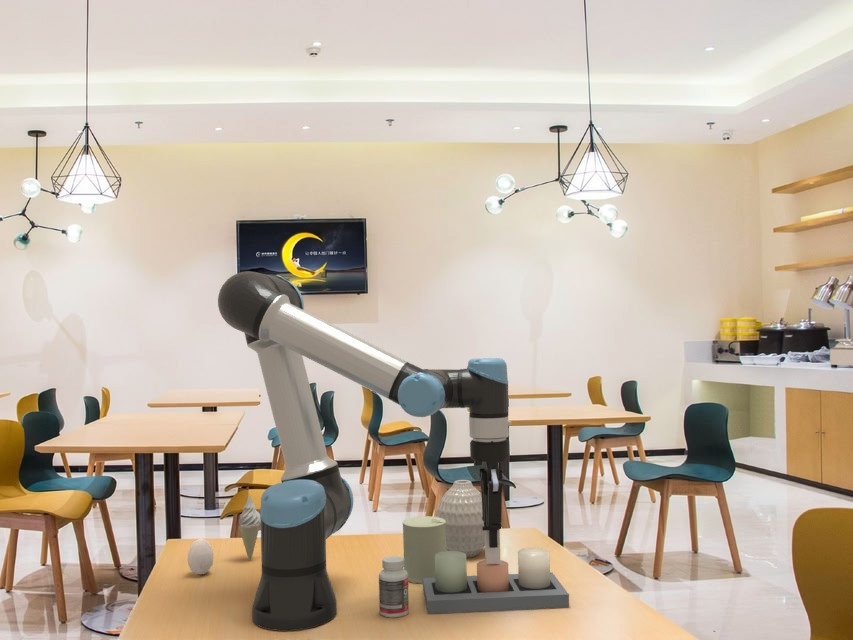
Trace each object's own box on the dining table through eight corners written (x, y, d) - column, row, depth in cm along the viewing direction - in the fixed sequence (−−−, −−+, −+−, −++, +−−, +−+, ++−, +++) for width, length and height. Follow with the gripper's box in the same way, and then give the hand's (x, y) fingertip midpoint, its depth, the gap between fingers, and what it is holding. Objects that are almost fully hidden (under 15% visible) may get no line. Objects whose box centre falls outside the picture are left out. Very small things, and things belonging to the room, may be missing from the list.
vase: (494, 561, 166) (492, 486, 167) (436, 563, 167) (434, 487, 167) (490, 545, 179) (488, 475, 180) (436, 546, 179) (434, 476, 180)
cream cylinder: (522, 589, 140) (521, 557, 141) (516, 579, 146) (515, 548, 147) (553, 587, 141) (552, 555, 141) (546, 577, 147) (545, 546, 147)
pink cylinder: (479, 602, 140) (479, 569, 140) (475, 591, 146) (474, 560, 146) (511, 600, 140) (510, 568, 140) (506, 589, 146) (505, 558, 146)
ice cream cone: (266, 559, 172) (264, 493, 173) (249, 565, 168) (248, 497, 168) (250, 556, 175) (249, 491, 175) (234, 561, 171) (232, 495, 171)
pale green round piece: (436, 593, 139) (436, 560, 140) (434, 582, 145) (433, 551, 146) (468, 591, 140) (468, 559, 140) (465, 581, 146) (464, 550, 146)
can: (443, 584, 152) (441, 525, 152) (398, 582, 154) (397, 523, 154) (450, 570, 161) (449, 514, 161) (408, 569, 163) (407, 513, 163)
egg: (194, 580, 158) (193, 543, 158) (183, 574, 162) (183, 538, 162) (218, 574, 162) (217, 538, 162) (207, 569, 166) (206, 534, 166)
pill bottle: (411, 616, 135) (410, 561, 135) (382, 619, 134) (380, 564, 134) (405, 606, 140) (404, 553, 140) (377, 609, 139) (376, 556, 139)
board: (427, 614, 136) (427, 600, 136) (423, 590, 149) (422, 578, 149) (569, 607, 138) (568, 594, 138) (552, 584, 150) (552, 572, 151)
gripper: (515, 442, 138) (518, 572, 137) (503, 433, 151) (506, 552, 150) (474, 444, 137) (477, 574, 136) (466, 435, 150) (469, 554, 149)
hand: (492, 562), depth 143 cm, fingers closed
